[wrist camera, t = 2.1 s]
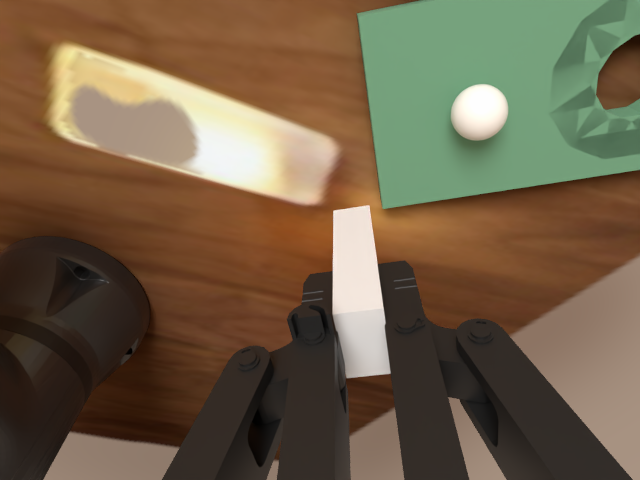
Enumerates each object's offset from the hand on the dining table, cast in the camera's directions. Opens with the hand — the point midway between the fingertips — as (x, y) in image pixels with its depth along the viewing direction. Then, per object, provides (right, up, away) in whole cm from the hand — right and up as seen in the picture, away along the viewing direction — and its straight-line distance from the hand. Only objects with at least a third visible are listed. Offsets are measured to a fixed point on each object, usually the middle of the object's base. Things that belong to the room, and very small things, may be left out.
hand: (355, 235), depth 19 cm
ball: (+9, +8, +11) cm, 16 cm away
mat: (+14, +11, +13) cm, 22 cm away
